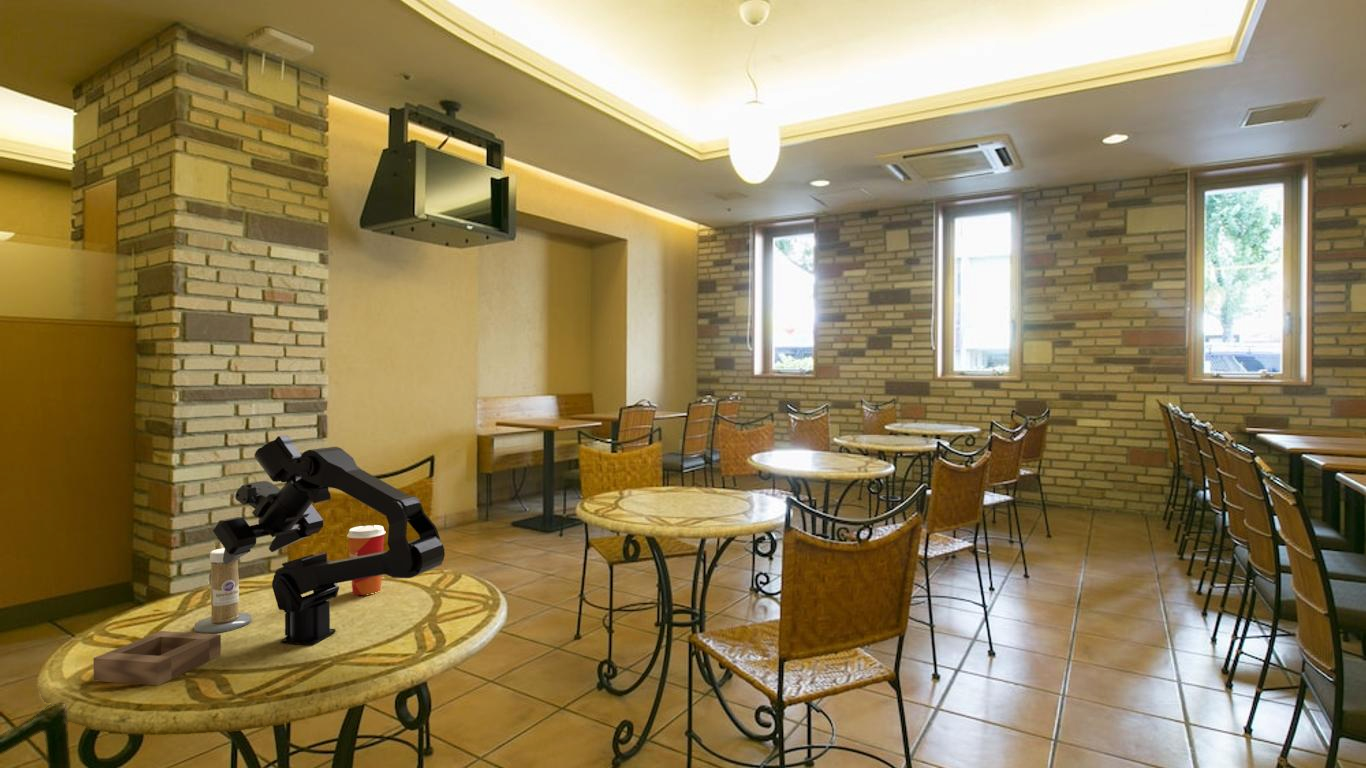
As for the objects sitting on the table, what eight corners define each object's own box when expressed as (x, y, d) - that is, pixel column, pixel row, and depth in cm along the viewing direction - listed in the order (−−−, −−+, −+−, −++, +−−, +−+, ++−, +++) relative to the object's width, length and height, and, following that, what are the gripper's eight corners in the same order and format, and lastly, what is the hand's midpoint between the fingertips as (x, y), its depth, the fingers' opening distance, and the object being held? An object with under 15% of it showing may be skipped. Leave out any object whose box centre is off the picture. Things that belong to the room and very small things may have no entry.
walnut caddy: (220, 655, 114) (220, 634, 114) (158, 685, 103) (158, 662, 103) (161, 651, 116) (161, 630, 116) (93, 680, 105) (93, 658, 105)
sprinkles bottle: (220, 625, 126) (219, 553, 126) (205, 622, 128) (204, 551, 128) (245, 617, 130) (244, 548, 130) (229, 614, 132) (229, 545, 132)
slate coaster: (262, 617, 133) (262, 613, 133) (225, 634, 124) (225, 630, 124) (222, 615, 134) (222, 611, 134) (181, 632, 125) (181, 627, 125)
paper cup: (350, 588, 151) (350, 525, 151) (387, 585, 154) (387, 523, 154) (344, 599, 144) (343, 533, 144) (383, 595, 146) (383, 530, 146)
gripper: (312, 461, 134) (270, 514, 137) (220, 474, 116) (175, 534, 120) (343, 504, 131) (300, 556, 135) (255, 523, 114) (207, 583, 117)
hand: (248, 556), depth 127 cm, fingers open, 9 cm apart
